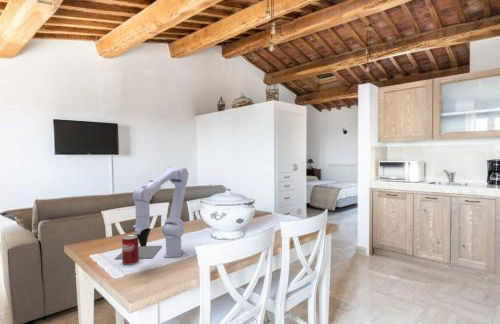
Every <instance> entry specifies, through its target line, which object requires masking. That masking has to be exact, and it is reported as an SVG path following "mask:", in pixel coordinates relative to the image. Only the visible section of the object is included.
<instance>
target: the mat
mask: <svg viewBox="0 0 500 324" xmlns="http://www.w3.org/2000/svg"><path fill="white" fill-rule="evenodd" d="M161 248H163V245H146V246H145V247H141V246H140V245H139V260H143V259H144V260H146V259H147V260H151V259H153V258H154V257H155V256H156V255H157V253H159V251H161ZM114 260H122V252H120V253H119V254H118V255H117V256H116V257H115V258H114Z"/></svg>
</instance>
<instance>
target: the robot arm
mask: <svg viewBox="0 0 500 324" xmlns="http://www.w3.org/2000/svg"><path fill="white" fill-rule="evenodd" d="M188 179H189V171H188V169H187V168H186V167H184V166H182V167H172V166H170V167H168V168H166V169H165V171H164V172H163V173H162V174H161V175H160V176H159V177H157V178H156V179H155V178H152V179H151V178H150V179H149V180H148V182H147V183H145V184H143V185H142V186H141V187H137V188H135V189H134V190H133V192H132V195H131V197H132V200H133V202H134V207H135V224H134V225H133V226H132V228H135V229H134V235H137V237H138V242H139V246H141V247H145V246H147V243H148V238H149V235H150V232H151V230H152V229H151V228H150V227H151V220H150V216H151V215H150V201H151V200H152V199H153V196H154V195H155V194H156V193H157V192H159V191H160V190H161V188H162V185H163V184H165V183H167V182H168V181H170V182H171V184H173V185H174V191H173V192H174V193H173V198H172V202H171V207H170V213H169V216H168V217H167V218H166V219H165V220H164V223H163V225H162V227H161V233H162V235H163V236H164V238H165V253H164V255H163V258H179V257H181V256H182V254H183V252H184V249H182V236H183V235H184V234H185V233H184V232H185V227H184V226H185V222H184V221H183V220H182V219H181V217H182V210H183V205H184V199H185V195H186V190H187V189H186V188H187V184H188Z"/></svg>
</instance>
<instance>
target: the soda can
mask: <svg viewBox="0 0 500 324" xmlns="http://www.w3.org/2000/svg"><path fill="white" fill-rule="evenodd" d="M139 246H140V243H139V239H138V237H137V235H136V234H128V235H125V236H123V237H122V238H121V253H122V259H121V262H122V264H124V265H129V266H130V265H134V264H137V263H138V262H139V261H140V259H139Z"/></svg>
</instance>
